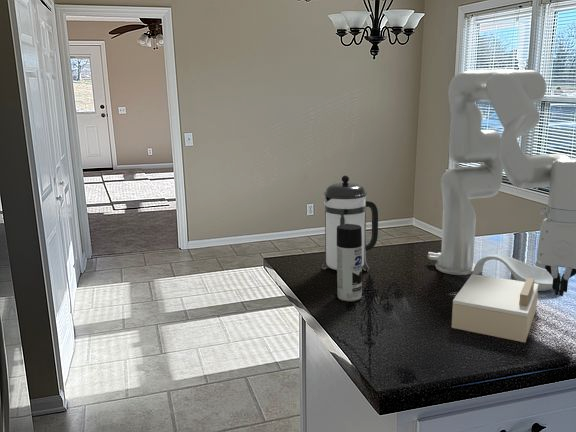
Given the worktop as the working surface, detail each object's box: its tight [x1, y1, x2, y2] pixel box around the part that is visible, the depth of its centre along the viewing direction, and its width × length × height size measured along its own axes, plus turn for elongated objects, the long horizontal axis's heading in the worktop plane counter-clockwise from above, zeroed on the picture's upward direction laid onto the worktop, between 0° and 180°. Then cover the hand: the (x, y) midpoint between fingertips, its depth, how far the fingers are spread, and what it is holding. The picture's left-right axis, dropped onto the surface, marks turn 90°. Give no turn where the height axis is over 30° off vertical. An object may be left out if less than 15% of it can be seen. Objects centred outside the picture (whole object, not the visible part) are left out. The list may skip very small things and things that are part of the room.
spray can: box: [336, 224, 363, 302], centre depth 141 cm, size 7×7×20 cm
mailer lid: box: [452, 274, 539, 317], centre depth 126 cm, size 16×20×3 cm
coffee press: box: [321, 175, 379, 273], centre depth 162 cm, size 17×16×30 cm
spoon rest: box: [473, 253, 561, 292], centre depth 150 cm, size 24×12×7 cm, turn 45°
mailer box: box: [451, 289, 539, 343], centre depth 127 cm, size 16×20×6 cm
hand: (559, 293), depth 119 cm, fingers closed
